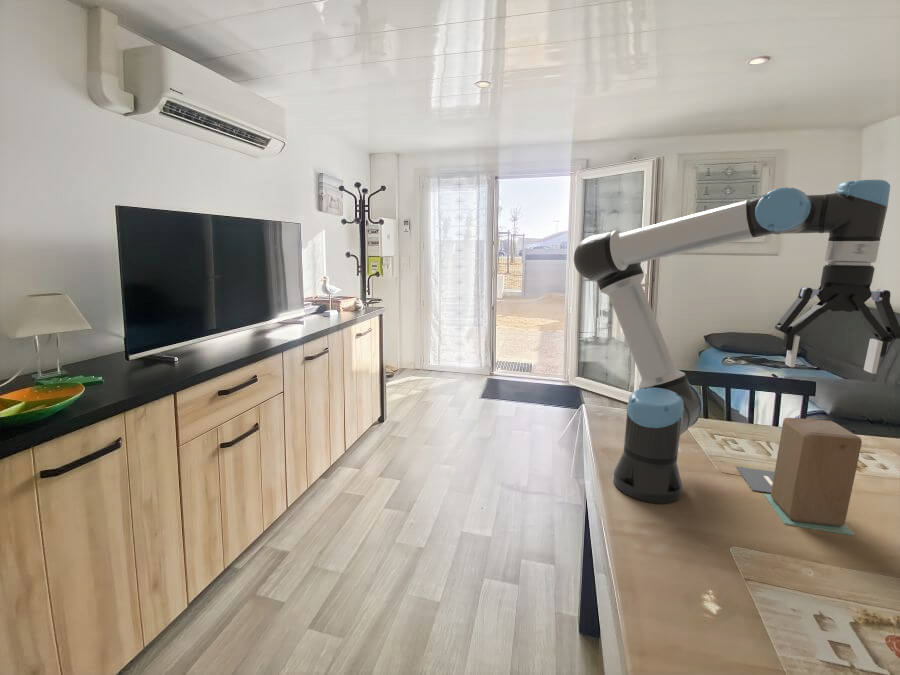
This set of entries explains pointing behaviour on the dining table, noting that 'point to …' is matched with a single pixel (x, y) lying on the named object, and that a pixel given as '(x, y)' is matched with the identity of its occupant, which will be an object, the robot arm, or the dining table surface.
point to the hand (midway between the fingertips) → (828, 368)
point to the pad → (788, 521)
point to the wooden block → (815, 470)
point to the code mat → (758, 479)
